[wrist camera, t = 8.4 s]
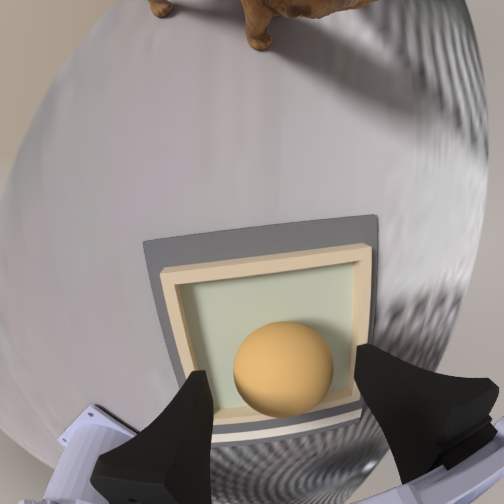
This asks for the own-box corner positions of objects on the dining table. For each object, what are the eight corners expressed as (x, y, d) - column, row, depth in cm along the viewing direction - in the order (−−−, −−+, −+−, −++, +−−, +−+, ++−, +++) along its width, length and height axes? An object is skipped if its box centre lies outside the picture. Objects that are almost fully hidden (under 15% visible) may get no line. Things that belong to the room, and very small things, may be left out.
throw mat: (357, 419, 17) (363, 430, 16) (202, 444, 17) (201, 457, 16) (374, 214, 14) (386, 217, 13) (144, 241, 13) (136, 246, 12)
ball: (273, 389, 16) (287, 448, 11) (213, 347, 14) (210, 407, 10) (333, 339, 15) (367, 390, 10) (277, 287, 14) (301, 333, 9)
